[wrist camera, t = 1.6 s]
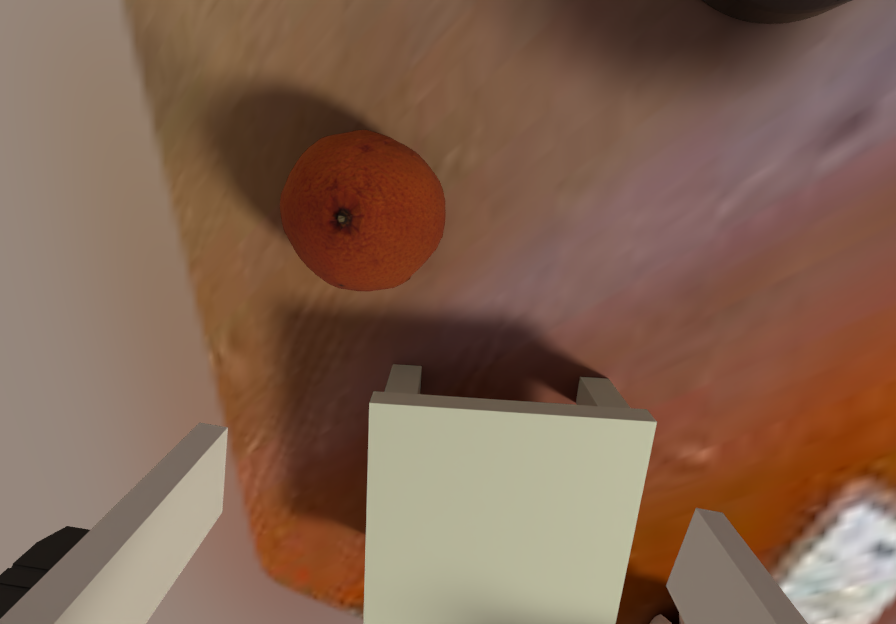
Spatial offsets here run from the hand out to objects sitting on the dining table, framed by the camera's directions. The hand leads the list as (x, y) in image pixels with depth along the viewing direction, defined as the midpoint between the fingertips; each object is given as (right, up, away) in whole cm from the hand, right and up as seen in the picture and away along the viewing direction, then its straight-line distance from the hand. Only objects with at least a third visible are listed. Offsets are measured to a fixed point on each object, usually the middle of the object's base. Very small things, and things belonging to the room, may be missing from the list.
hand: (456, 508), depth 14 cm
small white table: (+3, -6, +23) cm, 24 cm away
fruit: (-5, +12, +18) cm, 22 cm away
